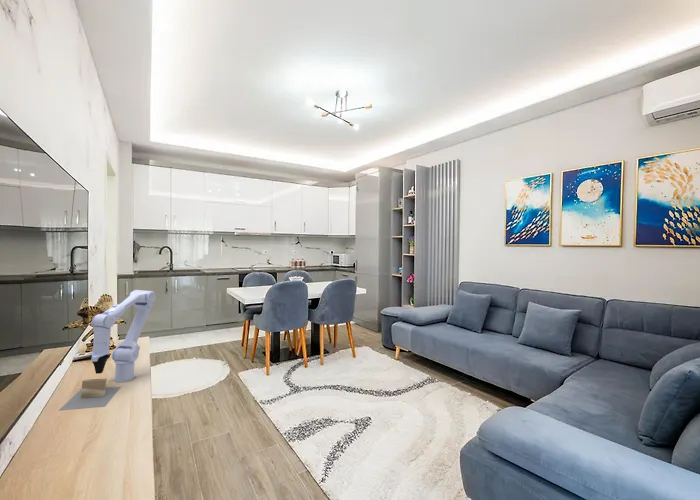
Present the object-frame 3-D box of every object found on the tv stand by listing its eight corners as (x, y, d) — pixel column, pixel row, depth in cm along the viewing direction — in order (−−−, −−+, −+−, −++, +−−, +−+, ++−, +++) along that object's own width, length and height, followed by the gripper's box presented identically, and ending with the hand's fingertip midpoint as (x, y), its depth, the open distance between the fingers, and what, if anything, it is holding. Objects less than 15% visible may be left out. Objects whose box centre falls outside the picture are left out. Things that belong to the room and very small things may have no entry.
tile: (82, 396, 137) (83, 379, 137) (105, 394, 140) (106, 378, 140) (80, 398, 136) (82, 381, 136) (103, 396, 138) (105, 379, 139)
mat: (80, 390, 144) (80, 389, 144) (120, 387, 149) (121, 386, 149) (58, 412, 125) (58, 410, 125) (104, 408, 130) (105, 406, 130)
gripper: (97, 337, 148) (94, 367, 148) (83, 346, 135) (80, 379, 134) (115, 337, 151) (113, 366, 150) (103, 346, 137) (101, 378, 137)
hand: (99, 373), depth 143 cm, fingers closed
